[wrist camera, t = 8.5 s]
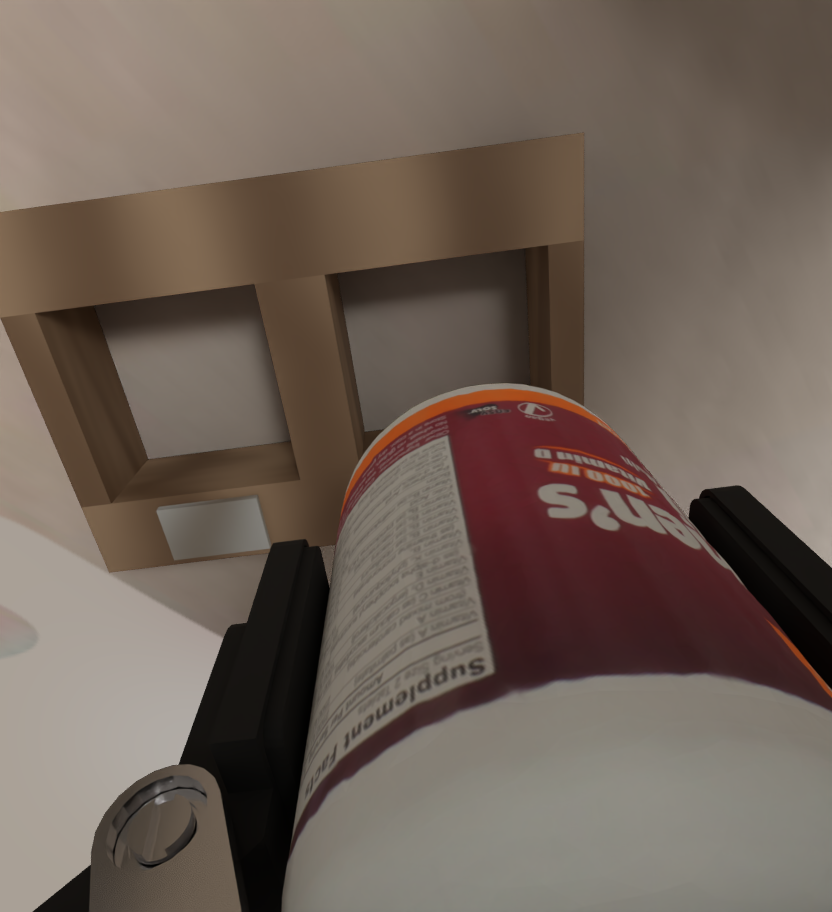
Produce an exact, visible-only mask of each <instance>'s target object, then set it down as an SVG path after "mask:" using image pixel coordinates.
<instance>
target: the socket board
mask: <svg viewBox="0 0 832 912" xmlns="http://www.w3.org/2000/svg"><path fill="white" fill-rule="evenodd" d="M522 248H525V259H526V284H527V309H528V334H529V359H530V384H531V386H533V387H538V388H543V389H546V390H549V391H553V392H556V393H559V394H561V395H563V396H565V397H567V398H569V399H571V400H574V401H576V402H577V403H579V404H580V405H582V406H584V133H577V134H570V135H562V136H555V137H548V138H540V139H533V140H526V141H518V142H511V143H504V144H496V145H489V146H482V147H474V148H467V149H460V150H452V151H445V152H438V153H430V154H423V155H416V156H408V157H401V158H394V159H386V160H379V161H372V162H364V163H357V164H350V165H342V166H335V167H328V168H320V169H313V170H306V171H298V172H291V173H284V174H276V175H269V176H262V177H254V178H247V179H240V180H232V181H225V182H218V183H210V184H203V185H196V186H188V187H181V188H174V189H166V190H159V191H152V192H144V193H137V194H130V195H122V196H115V197H107V198H100V199H93V200H85V201H78V202H71V203H63V204H56V205H49V206H41V207H34V208H27V209H19V210H12V211H5V212H0V318H1V320H2V323H3V325H4V327H5V330H6V332H7V335H8V337H9V339H10V342H11V344H12V346H13V349H14V351H15V353H16V356H17V358H18V360H19V363H20V365H21V367H22V370H23V372H24V374H25V377H26V379H27V381H28V384H29V386H30V388H31V391H32V393H33V395H34V398H35V400H36V402H37V405H38V407H39V409H40V412H41V414H42V416H43V419H44V421H45V423H46V426H47V428H48V430H49V433H50V435H51V437H52V440H53V442H54V444H55V447H56V449H57V451H58V454H59V456H60V458H61V461H62V463H63V465H64V468H65V470H66V472H67V475H68V477H69V479H70V482H71V484H72V486H73V489H74V491H75V494H76V496H77V498H78V501H79V503H80V505H81V508H82V510H83V512H84V515H85V517H86V519H87V522H88V524H89V526H90V529H91V531H92V533H93V536H94V538H95V540H96V543H97V545H98V547H99V550H100V552H101V554H102V557H103V559H104V561H105V564H106V566H107V568H108V571H109V573H110V572H118V571H126V570H134V569H142V568H150V567H158V566H166V565H175V564H183V563H191V562H199V561H207V560H215V559H223V558H231V557H239V556H248V555H256V554H264V553H269V552H270V549H271V546H272V544H273V543H276V542H284V541H292V540H300V539H306V540H307V542H308V544H309V547H311V546H319V547H321V546H329V545H336V540H337V532H338V527H339V523H340V517H341V511H342V506H343V502H344V498H345V494H346V490H347V487H348V485H349V482H350V479H351V477H352V474H353V472H354V470H355V468H356V466H357V464H358V462H359V461H360V459H361V457H362V456H363V454H364V453H365V451H366V450H367V449H368V447H369V446H370V445H371V444H372V442H373V441H374V440H375V439H376V437H377V436H378V435H379V434H380V433H381V432H383V431H384V430H385V429H384V430H376V431H368V432H365V430H364V425H363V419H362V413H361V407H360V402H359V396H358V390H357V385H356V379H355V373H354V367H353V362H352V356H351V350H350V344H349V339H348V333H347V327H346V322H345V316H344V310H343V304H342V299H341V293H340V287H339V281H338V276H337V273H341V272H348V271H356V270H364V269H371V268H379V267H386V266H394V265H401V264H409V263H416V262H424V261H431V260H439V259H446V258H454V257H462V256H469V255H477V254H484V253H492V252H499V251H507V250H514V249H522ZM250 284H254V285H255V289H256V294H257V298H258V302H259V306H260V311H261V315H262V319H263V323H264V328H265V332H266V336H267V340H268V345H269V349H270V353H271V357H272V362H273V366H274V370H275V374H276V379H277V383H278V387H279V391H280V396H281V400H282V404H283V408H284V413H285V417H286V421H287V425H288V430H289V434H290V438H291V441H290V442H282V443H274V444H266V445H258V446H250V447H243V448H235V449H227V450H219V451H211V452H203V453H195V454H187V455H180V456H172V457H164V458H156V459H148V458H147V455H146V452H145V449H144V446H143V444H142V441H141V438H140V435H139V432H138V430H137V427H136V424H135V421H134V418H133V416H132V413H131V410H130V407H129V404H128V401H127V399H126V396H125V393H124V390H123V387H122V385H121V382H120V379H119V376H118V373H117V371H116V368H115V365H114V362H113V359H112V357H111V354H110V351H109V348H108V345H107V343H106V340H105V337H104V334H103V331H102V328H101V326H100V323H99V320H98V317H97V314H96V312H95V309H94V306H93V305H100V304H107V303H115V302H122V301H130V300H137V299H145V298H152V297H160V296H167V295H175V294H183V293H190V292H198V291H205V290H213V289H220V288H228V287H235V286H243V285H250Z"/></svg>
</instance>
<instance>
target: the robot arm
mask: <svg viewBox="0 0 832 912" xmlns="http://www.w3.org/2000/svg"><path fill="white" fill-rule="evenodd" d="M689 520H690V521H691V522H692V523H693V525H694V526H695V527H696V528H697V529H698V530H699V532H700V533H701V534H702V536H703V537H704V538H705V539H706V541H707V542H708V543H709V544H710V545H711V546H712V547H713V548H714V549H715V550H716V551H717V553H718V554H719V555H720V556H721V557H722V558H723V559H724V560H725V561H726V562H727V564H728V565H729V566H730V567H731V569H732V570H733V571H734V572H735V574H736V575H737V576H738V577H739V579H740V580H741V582H742V583H743V584H744V586H745V587H746V588H747V590H748V591H749V592H750V593H751V594H752V595H753V596H754V597H755V598H756V600H757V601H758V602H759V603H760V604H761V605H762V606H763V607H764V608H765V609H766V611H767V612H768V613H769V614H770V615H771V616H772V617H773V619H774V620H775V621H776V622H777V624H778V625H779V626H780V627H781V629H782V630H783V631H784V632H785V634H786V635H787V636H788V638H789V639H790V640H791V641H792V643H793V644H794V645H795V646H796V648H797V649H798V650H799V651H800V653H801V654H802V655H803V657H804V658H805V659H806V660H807V662H808V663H809V664H810V665H811V666H812V668H813V669H814V670H815V671H816V672H817V673H818V675H819V676H820V677H821V678H822V679H823V680H824V681H825V683H826V684H827V685H828V686H829V687H830V688H831V690H832V568H831V567H830V566H829V565H828V564H827V563H826V562H825V561H824V560H822V559H821V558H820V557H819V556H818V555H817V554H816V553H815V552H814V551H813V550H811V549H810V548H809V547H808V546H807V545H806V544H805V543H804V542H803V541H802V540H800V539H799V538H798V537H797V536H796V535H795V534H794V533H793V532H792V531H791V530H790V529H788V528H787V527H786V526H785V525H784V524H783V523H782V522H781V521H780V520H779V519H777V518H776V517H775V516H774V515H773V514H772V513H771V512H770V511H769V510H768V509H766V508H765V507H764V506H763V505H762V504H761V503H760V502H759V501H758V500H757V499H756V498H754V497H753V496H752V495H751V494H750V493H749V492H748V491H747V490H746V489H745V488H743V487H741V486H729V487H721V488H713V489H705V490H703V491H702V492H701V494H700V497H699V499H694V500H693V501H692V502H691V504H690V511H689ZM329 589H330V588H329V584H328V579H327V575H326V571H325V566H324V562H323V558H322V553H321V550H320V548H319V546H311V547H309V544H308V542H307V540H306V539H300V540H292V541H284V542H276V543H273V544H272V546H271V549H270V552H269V555H268V558H267V561H266V564H265V567H264V571H263V574H262V577H261V580H260V583H259V586H258V589H257V593H256V596H255V599H254V602H253V605H252V608H251V612H250V615H249V618H248V621H247V623H242V624H234V625H231V626H230V627H229V628H228V630H227V632H226V634H225V636H224V639H223V642H222V645H221V647H220V650H219V653H218V656H217V658H216V661H215V664H214V667H213V670H212V672H211V675H210V678H209V681H208V684H207V686H206V689H205V692H204V695H203V698H202V700H201V703H200V706H199V709H198V712H197V714H196V717H195V720H194V723H193V726H192V729H191V732H190V735H189V737H188V740H187V743H186V745H185V748H184V751H183V754H182V757H181V759H180V762H179V765H172V766H169V767H166V768H163V769H160V770H156V771H154V772H152V773H150V774H148V775H147V776H145V777H143V778H142V779H140V780H138V781H136V782H135V783H134V784H133V785H131V786H130V787H129V788H128V789H127V790H125V791H124V792H123V793H122V794H121V795H120V796H119V797H118V798H117V799H116V800H115V802H114V803H113V804H112V805H111V806H110V808H109V809H108V810H107V811H106V813H105V814H104V816H103V818H102V820H101V822H100V824H99V826H98V828H97V830H96V832H95V836H94V842H93V846H92V851H91V865H90V866H88V867H87V868H86V869H85V870H84V871H82V872H81V873H80V874H79V875H77V876H76V877H75V878H74V879H72V880H71V881H70V882H69V883H67V884H66V885H65V886H64V887H63V888H61V889H60V890H59V891H58V892H56V893H55V894H54V895H53V896H51V897H50V898H49V899H48V900H47V901H46V902H44V903H43V904H42V905H40V906H39V907H38V908H37V909H35V910H34V911H33V912H281V911H282V893H283V887H284V880H285V874H286V868H287V862H288V858H289V852H290V846H291V840H292V834H293V828H294V821H295V815H296V808H297V802H298V795H299V788H300V782H301V775H302V769H303V762H304V755H305V749H306V742H307V735H308V729H309V722H310V716H311V709H312V702H313V696H314V689H315V682H316V676H317V669H318V663H319V656H320V650H321V643H322V637H323V630H324V623H325V616H326V609H327V603H328V596H329Z"/></svg>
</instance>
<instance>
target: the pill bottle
mask: <svg viewBox="0 0 832 912" xmlns="http://www.w3.org/2000/svg"><path fill="white" fill-rule="evenodd" d="M281 912H832V690H831V688H830V687H829V686H828V685H827V684H826V683H825V681H824V680H823V679H822V678H821V677H820V676H819V675H818V673H817V672H816V671H815V670H814V669H813V668H812V666H811V665H810V664H809V663H808V662H807V660H806V659H805V658H804V657H803V655H802V654H801V653H800V651H799V650H798V649H797V648H796V646H795V645H794V644H793V643H792V641H791V640H790V639H789V638H788V636H787V635H786V634H785V632H784V631H783V630H782V629H781V627H780V626H779V625H778V624H777V622H776V621H775V620H774V619H773V617H772V616H771V615H770V614H769V613H768V612H767V611H766V609H765V608H764V607H763V606H762V605H761V604H760V603H759V602H758V601H757V600H756V598H755V597H754V596H753V595H752V594H751V593H750V592H749V591H748V590H747V588H746V587H745V586H744V584H743V583H742V582H741V580H740V579H739V577H738V576H737V575H736V574H735V572H734V571H733V570H732V569H731V567H730V566H729V565H728V564H727V562H726V561H725V560H724V559H723V558H722V557H721V556H720V555H719V554H718V553H717V551H716V550H715V549H714V548H713V547H712V546H711V545H710V544H709V543H708V542H707V541H706V539H705V538H704V537H703V536H702V534H701V533H700V532H699V530H698V529H697V528H696V527H695V526H694V525H693V523H692V522H691V521H690V520H689V519H688V518H687V516H686V515H685V514H684V512H683V511H682V510H681V509H680V507H679V506H678V505H677V504H676V502H675V501H674V500H673V499H672V498H671V497H670V496H669V495H668V494H667V493H666V492H665V491H664V489H663V488H662V487H661V485H660V484H659V483H658V482H657V481H656V479H655V478H654V477H653V476H652V475H651V473H650V472H649V471H648V470H647V469H646V468H645V467H644V466H643V464H642V463H641V462H640V460H639V459H638V458H637V457H636V456H635V454H634V453H633V452H632V451H631V450H630V448H629V447H628V446H627V445H626V444H625V443H624V442H623V440H622V439H621V438H620V437H619V436H618V435H617V434H616V433H615V432H614V431H613V430H612V429H611V428H610V427H609V426H608V425H607V423H605V422H604V421H603V420H602V419H600V418H599V417H598V416H597V415H595V414H594V413H593V412H591V411H590V410H588V409H587V408H585V407H584V406H582V405H580V404H579V403H577V402H576V401H574V400H571V399H569V398H567V397H565V396H563V395H561V394H559V393H556V392H553V391H549V390H546V389H543V388H538V387H533V386H529V385H524V384H510V383H498V384H482V385H475V386H469V387H465V388H461V389H457V390H453V391H450V392H447V393H444V394H441V395H439V396H436V397H433V398H431V399H428V400H426V401H424V402H422V403H420V404H418V405H416V406H414V407H412V408H411V409H410V410H408V411H407V412H406V413H404V414H402V415H401V416H400V417H399V418H397V419H396V420H395V421H393V422H392V423H391V424H390V425H389V426H388V427H387V428H386V429H385V430H384V431H383V432H381V433H380V434H379V435H378V436H377V437H376V439H375V440H374V441H373V442H372V444H371V445H370V446H369V447H368V449H367V450H366V451H365V453H364V454H363V456H362V457H361V459H360V461H359V462H358V464H357V466H356V468H355V470H354V472H353V474H352V477H351V479H350V482H349V485H348V487H347V490H346V494H345V498H344V502H343V506H342V511H341V517H340V523H339V527H338V532H337V540H336V546H335V552H334V560H333V568H332V576H331V583H330V589H329V596H328V603H327V609H326V616H325V623H324V630H323V637H322V643H321V650H320V656H319V663H318V669H317V676H316V682H315V689H314V696H313V702H312V709H311V716H310V722H309V729H308V735H307V742H306V749H305V755H304V762H303V769H302V775H301V782H300V788H299V795H298V802H297V808H296V815H295V821H294V828H293V834H292V840H291V846H290V852H289V858H288V862H287V868H286V874H285V880H284V887H283V893H282V911H281Z"/></svg>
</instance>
